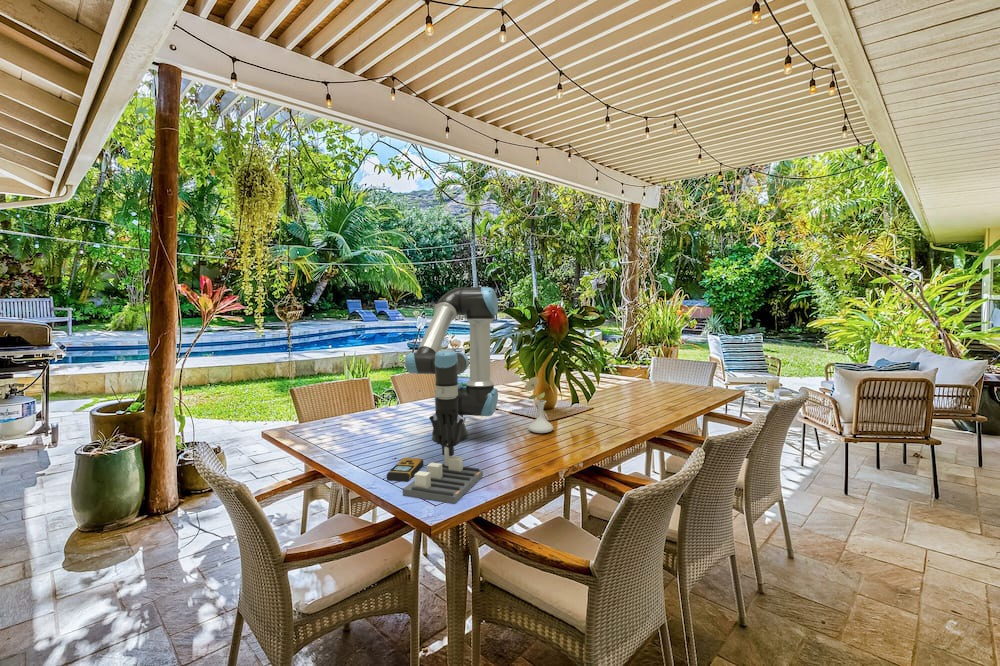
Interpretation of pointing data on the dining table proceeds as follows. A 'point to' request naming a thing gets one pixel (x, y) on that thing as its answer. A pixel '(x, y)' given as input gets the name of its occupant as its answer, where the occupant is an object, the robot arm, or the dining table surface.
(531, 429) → the flower in vase
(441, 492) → the switch bank
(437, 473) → the tab
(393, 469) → the electronic device
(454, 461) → the tab
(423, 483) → the tab
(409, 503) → the dining table surface
